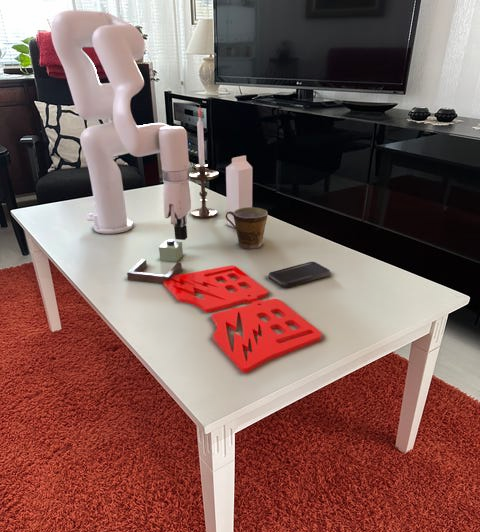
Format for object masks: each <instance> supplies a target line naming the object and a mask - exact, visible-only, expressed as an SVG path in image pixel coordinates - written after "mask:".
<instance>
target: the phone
mask: <svg viewBox="0 0 480 532" xmlns="http://www.w3.org/2000/svg"><path fill="white" fill-rule="evenodd" d="M330 275H331V270H330V269H329V268H327V267H325V266H323V265H322V264H320V263H317V262H316V261H307V262H304V263H300V264H296V265H292V266H289V267H285V268H281V269H278V270H274V271H270V272H269V273H268V279H269V280H271V282H273V283H275V284H276V285H278V286H280V287H281V288H284V289H286V288H287V289H288V288H291V287H295V286H298V285H303V284H305V283H309V282H312V281H316V280H319V279H323V278H326V277H329V276H330Z"/></svg>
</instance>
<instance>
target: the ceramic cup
mask: <svg viewBox="0 0 480 532" xmlns="http://www.w3.org/2000/svg"><path fill="white" fill-rule="evenodd" d="M228 214H231V215H233V216H234V221H235V225H234V224H233V223H232V222H231V221H230V220H229V219H228V217H227V215H228ZM268 215H269V214H268V210H266V209H265V208H264V209H263V208H262V207H261V208H260V207H256V206H255V207H253V206H252V207H246V208H240V209H237V210H235V211H234V212H231V211H230V212H227V211H226V214H225V219H226V221H227V220H228V221H229V222H230V223H231V224H232V225H233V227H232V228H234V229H235V230H236V237H237V241H238V245H239V246H240V247H241V248H242V249H248V250H253V249H258V248H260V247H261V246H262V244H263V239H264V235H265V229H266V224H267V221H268V220H267V219H268Z"/></svg>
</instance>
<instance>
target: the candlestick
mask: <svg viewBox="0 0 480 532" xmlns="http://www.w3.org/2000/svg"><path fill="white" fill-rule="evenodd" d="M201 116H202V110H201V107H199V108H198V121H197V122H196V127H197V148H198V163H197V164H196V165H195V166H196V167H198V169H192V170H189V171H190V180H192V181H198V182H200V191H199V193H198V194H199V196H200V199H199V202H201V208H200V207H199V208H196V209H193V210H192V211H191V217H193V218H195V219H201V220H202V219H205V220H206V219H213V218H215V217H217V215H218V210H216V209H215V208H210V207H209V208H208V207H207V204H206V203H207V202H208V199H207V196H208V192H207V191H206V183H205V182H206V181H210V180H214V179H217V178H219V171H217V170H215V169H206V167H208V165H209V164H207V163H206V161H205V141H204V138H205V137H204V122H203V121H202V118H201Z"/></svg>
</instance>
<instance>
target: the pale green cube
mask: <svg viewBox="0 0 480 532" xmlns="http://www.w3.org/2000/svg"><path fill="white" fill-rule="evenodd" d="M158 252H159V261H165V262H175V263H177V262H178V261H179V260H180V259H181V258H182V257H183V256H184V250H183V242H182V241H175V239H174V238H168V239H166V240H164V242H163V243H161V244H160V245H159V246H158Z"/></svg>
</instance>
